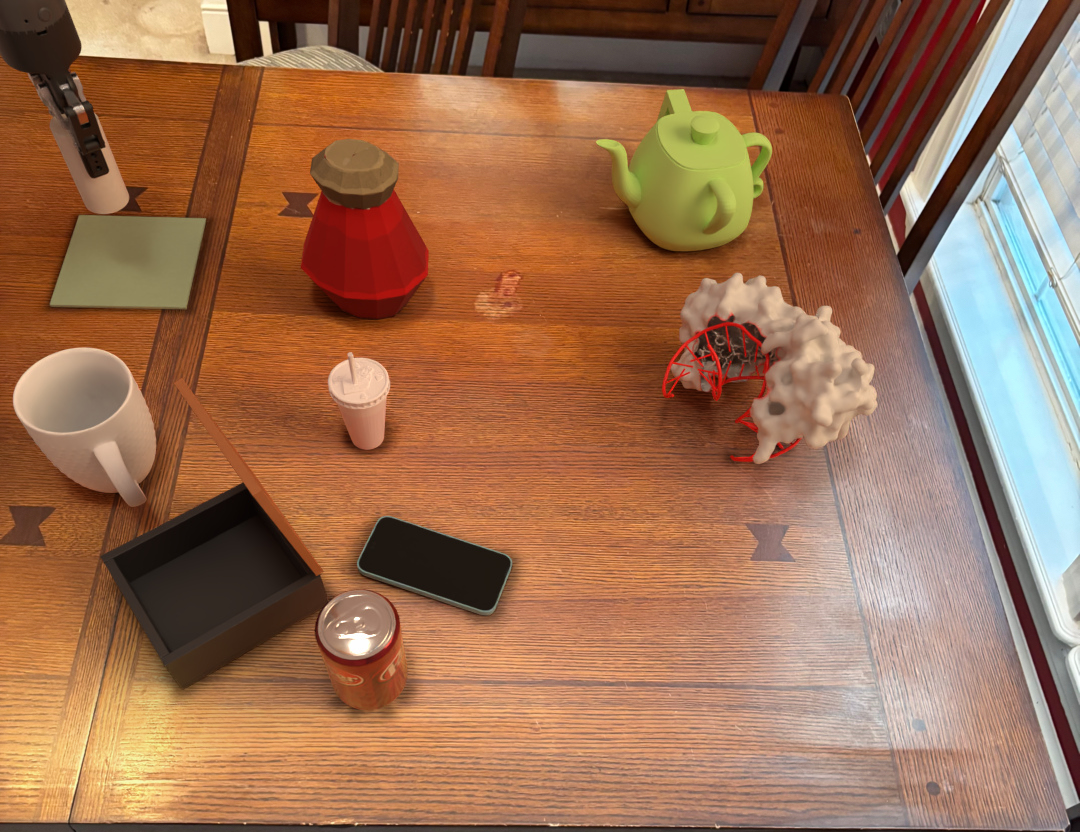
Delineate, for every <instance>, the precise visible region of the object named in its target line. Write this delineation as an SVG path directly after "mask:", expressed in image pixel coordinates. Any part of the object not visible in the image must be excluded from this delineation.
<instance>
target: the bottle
mask: <svg viewBox="0 0 1080 832" xmlns="http://www.w3.org/2000/svg"><path fill="white" fill-rule="evenodd" d="M399 170H400V163H399V162H398V161H397V160H396V159H395V158H394V157H393V156H391V154H389V153H388V152H387V151H385V150H384V149H382V148H380V147H379V146H377V145H375V144H373V143H371V142H368V141H366V140H364V139H357V138H356V139H355V138H345V139H338V140H337V139H336V140H334V141H333V142H332V143H330V144H328V145H327V146H326V147H325V148H323V149H322V150H320V151H319V152H318V153H316V154H315V155H314V156H313V157H312V158H311V161H310V171H309V175H310V176H311V177H312V178H313V180H314V182H315V183H316V185H317V186H318V188H319V189H320V194H319V197H318V200H317V203H316V205H315V209H314V212H313V215H312V218H311V222H310V224H309V226H308V230H307V232H306V236H305V239H304V242H303V246H302V247H303V248H302V254H301V262H300V269H301V270H302V272H304V274H306V276H308V278H310V280H312V282H314V284H315V285H316V286H317V287H318V288H319V289H320V290H321V291H322V292H323V293H324V294H325V295H326V296H327V297H328V298H329V299H330V300H332V302H333V303H334V304H335V305H336V306H337V307H339V308H340V310H341V311H342V312H344V313H346V314H348V315H351V316H353V317H355V318H357V319H362V320H375V321H378V320H383V319H384V320H385V319H389V318H393V317H395V316H397V314H398V313H400V311H402V310H403V309H404V308H405V307H406V306H407V305H408V303H409V302H410V300H411V299H412V298H413V296H414V295H415V293H417V291H418V290H419V288H420V287H421V285H422V284H423V282H424V281H425V280H426V279H427V277H428V275H429V254H430V253H429V252H430V251H429V248H428V247H427V244H426V243H425V241H424V240H423V237H422V236H421V235H420V232H419V230H418V229H417V227H416V225H415V224H414V222H413V221H412V218H411V217H410V215H409V214H408V212H407V210H406V208H405V206H404V204H403V203H402V201H401V199H400V198H399V196H398V194H397V192H396V190H395V187H396V185H397V183H398V180H399Z"/></svg>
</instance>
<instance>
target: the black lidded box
mask: <svg viewBox="0 0 1080 832" xmlns="http://www.w3.org/2000/svg"><path fill="white" fill-rule="evenodd" d="M100 559H101V560H102V562H103V564H104V566H105V567H106V569H107V571H108V573H109V574H110V576H111V577H112V579H113V581H114V583H115V584H116V586H117V588H118V589H119V591H120V593H121V595H122V596H123V598H124V600H125V601H126V603H127V605H128V606H129V608H130V610H131V612H132V613H133V615H134V616H135V617H134V618H136V621H137V622H138V623H139V625H140V627H141V629H142V630H143V632H144V634H145V635H146V637H147V639H148V640H149V642H150V644H151V646H152V647H153V649H154V651H155V653H156V655H157V656H158V658H159V659H160V661H161V663H162V664H163V667H165V669H166V670H167V671H168V673H169V674H170V675H171V676H172V678H173V680H174V681H175V682H176V683H177V685H178V686H179V687H180V688H181V689H182V690H183V691H184V690H186V689H187V688H189V687H191V686H192V685H194V684H195V683H197V682H200V681H201V680H202V679H204V678H206V677H207V676H210V675H211V674H212V673H215V672H216V671H218V670H219V669H222V668H223V667H224V666H226V665H228V664H230V663H232V662H233V661H234V660H236V659H238V658H239V657H242V656H243V655H245V654H247V653H249V652H250V651H252V650H253V649H255V648H257V647H259V646H260V645H262V644H263V643H265V642H267V641H268V640H270V639H272V638H274V637H276V636H277V635H279V634H281V633H282V632H283V631H285V630H287V629H289V628H291V627H293V626H294V625H296V624H297V623H299V622H301V621H302V620H304V619H306V618H307V617H309V616H311V615H313V614H314V613H316V612H318V611H319V610H321V609H322V608H323V607H324V605H325V604H326V603H327V602H328V601H329V599H328V596H327V592H326V589H325V586H324V583H323V579H322V576H321V573H320V574H319V575H318V576H316V575H315V574H314V572H313V571H312V570H311V569H310V567H309V566H308V565H307V564H306V562H305V561H304V560H303V559H302V557H301V556H300V555H299V554H298V552H297V551H296V550H295V549H294V547H293V546H292V545H291V543H290V542H289V541H288V540H287V538H286V537H285V536H284V535H283V533H282V532H281V531H280V530H279V528H278V527H277V526H276V525H275V523H274V522H273V521H272V520H271V518H270V517H269V516H268V515H267V513H266V512H265V511H264V509H263V508H262V507H261V506H260V504H259V503H258V502H257V501H256V499H255V498H254V497H253V496H252V494H251V493H250V491H249V490H248V488H247V487H246V486H245V484H244V483H243V482H241V483H239V484H237V485H235V486H233V487H231V488H230V489H228V490H226V491H224V492H222V493H220V494H217V495H216V496H214V497H212V498H210V499H208V500H206V501H204V502H202V503H200V504H198V505H197V506H194V507H192V508H190V509H189V510H187V511H185V512H183V513H181V514H179V515H177V516H175V517H173V518H171V519H170V520H168V521H167V520H166V522H164V523H161V524H159V525H157V526H156V527H154V528H152V529H150V530H148V531H146V532H144V533H142V534H140V535H138V536H136V537H134V538H132V539H131V540H129V541H126V542H125V543H123V544H121V545H119V546H117V547H115V548H112V549H111V550H109V551H107V552H105V553H103V554H101V555H100Z"/></svg>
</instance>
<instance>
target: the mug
mask: <svg viewBox="0 0 1080 832" xmlns="http://www.w3.org/2000/svg"><path fill="white" fill-rule="evenodd" d="M12 406H13V410H14V412H15V415H16V416H17V418H18V420H19V421H20V423H21V424H22V426H23V427H24V429H25V430H26V432H27V434H28V435H29V436H30V437H31V438H32V440H33V442H34V443H35V445H36V446H37V447H38V448H39V449H40V451H41V453H43V454H44V455H45V457H46V459H47V460H49V461H50V463H51V464H52V465H53V466H54V467H55V468H57V469H58V470H59V471H60V472H61V473H62V474H64V475H65V476H66V477H67V478H68V479H70V480H72V481H73V482H74V483H77V484H79V485H80V486H82V487H84V488H87V489H89V490H92V491H96V492H99V493H106V494H117V493H118V494H119V495H120V497H121V498H122V499H123V501H124V502H125V504H127V505H128V506H129V507H131V508H136V507H140V506H141V505H143V504H144V503H146V502H147V499H148V498H147V496H146V495H145V493H144V491H143V490H142V488H141V487H140V485H139V484H141V483H142V482H143V481H144V480H145V479H146V478H147V476H148V475H149V473H150V472H151V470H152V469H153V465H154V462H155V459H156V453H157V450H156V449H157V436H156V430H155V424H154V421H153V418H152V417H153V416H152V414H151V413H150V408H149V407H148V404H147V401H146V399H145V398H144V395H143V393H142V390H141V389H140V387H139V385H138V383H137V382H136V379H135V378H134V376H133V373H132V371H131V370H130V368H129V367H128V365H127V364H126V363H125V362H124V361H123V359H121V358H120V357H118V356H117V355H115V354H113V353H111V352H109V351H107V350H104V349H100V348H96V347H95V348H94V347H73V348H68V349H67V348H66V349H63V350H59V351H56V352H53V353H50V354H49V355H47V356H45V357H43V358H41V359H40V360H38V361H36V362H35V363H33V364H32V365H31V366H29V367H28V369H26V371H24V373H22V375H21V376H20V378H19V379H18V380H17V383H16V384H15V387H14V389H13V394H12Z"/></svg>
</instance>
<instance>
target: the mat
mask: <svg viewBox="0 0 1080 832" xmlns="http://www.w3.org/2000/svg"><path fill="white" fill-rule="evenodd" d="M206 224H207V218H206V217H175V216H174V217H171V216H135V215H103V214H79V215H78V216H77V220H76V223H75V227H74V229H73V232H72V235H71V238H70V241H69V243H68V247H67V250H66V253H65V256H64V259H63V263H62V265H61V268H60V272H59V274H58V277H57V280H56V283H55V287H54V289H53V293H52V296H51V298H50V301H49V304H48V305H49V307H50V308H81V309H85V308H87V309H132V310H133V309H136V310H139V309H141V310H181V311H183V310H184V311H185V310H187V309H188V304H189V300H190V296H191V291H192V287H193V282H194V278H195V273H196V269H197V264H198V260H199V255H200V250H201V246H202V242H203V237H204V233H205V230H206V229H205V228H206Z"/></svg>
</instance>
